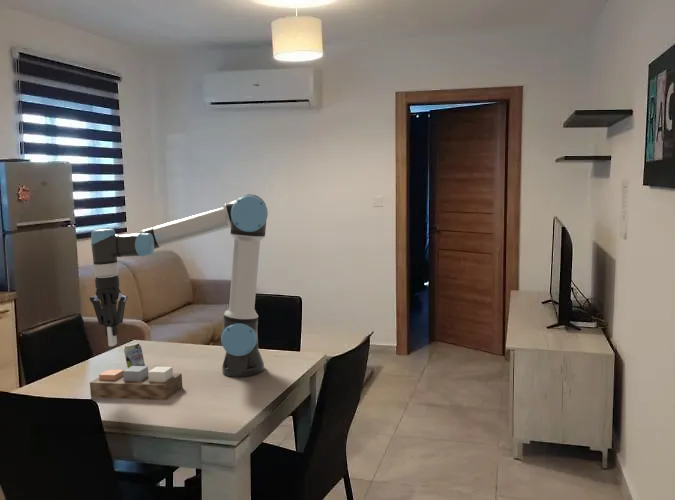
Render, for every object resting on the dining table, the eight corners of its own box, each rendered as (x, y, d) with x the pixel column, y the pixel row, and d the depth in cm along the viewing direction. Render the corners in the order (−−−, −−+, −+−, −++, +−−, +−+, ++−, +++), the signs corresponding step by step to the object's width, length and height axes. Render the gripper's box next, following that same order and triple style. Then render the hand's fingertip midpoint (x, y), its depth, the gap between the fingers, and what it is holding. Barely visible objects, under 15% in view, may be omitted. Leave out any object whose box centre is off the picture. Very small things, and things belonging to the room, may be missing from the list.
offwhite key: (173, 378, 213) (172, 366, 213) (165, 384, 208) (164, 372, 207) (157, 378, 215) (156, 366, 214) (148, 383, 209) (147, 371, 209)
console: (182, 387, 217) (181, 373, 216) (166, 400, 205) (165, 385, 204) (111, 385, 222) (109, 371, 222) (91, 397, 211) (89, 382, 210)
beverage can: (141, 378, 228) (138, 346, 227) (122, 378, 230) (119, 345, 228) (149, 373, 234) (147, 341, 233) (131, 372, 236) (129, 341, 235)
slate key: (148, 377, 215) (147, 366, 215) (140, 383, 210) (139, 371, 209) (133, 377, 217) (132, 365, 216) (124, 382, 211) (123, 371, 210)
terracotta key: (124, 381, 217) (124, 369, 217) (115, 386, 212) (114, 375, 211) (109, 380, 219) (108, 369, 218) (99, 386, 213) (99, 374, 212)
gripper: (130, 273, 213) (136, 342, 216) (95, 274, 216) (101, 342, 218) (118, 277, 206) (124, 348, 208) (82, 277, 208) (88, 348, 211)
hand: (112, 345), depth 213 cm, fingers closed
